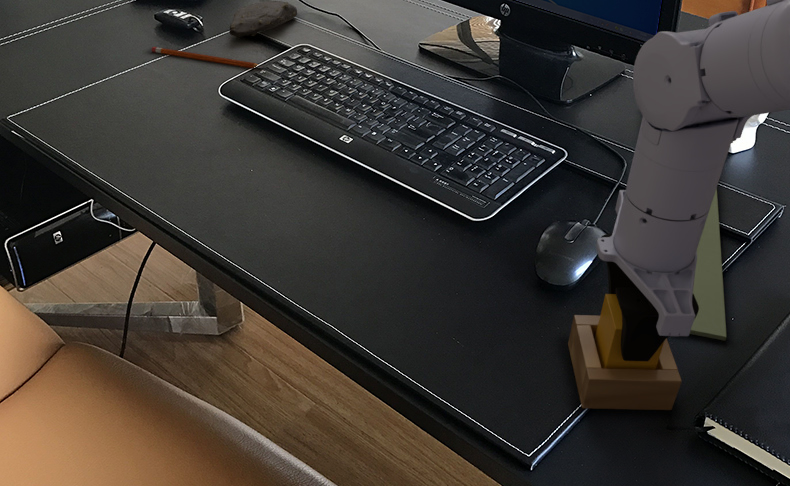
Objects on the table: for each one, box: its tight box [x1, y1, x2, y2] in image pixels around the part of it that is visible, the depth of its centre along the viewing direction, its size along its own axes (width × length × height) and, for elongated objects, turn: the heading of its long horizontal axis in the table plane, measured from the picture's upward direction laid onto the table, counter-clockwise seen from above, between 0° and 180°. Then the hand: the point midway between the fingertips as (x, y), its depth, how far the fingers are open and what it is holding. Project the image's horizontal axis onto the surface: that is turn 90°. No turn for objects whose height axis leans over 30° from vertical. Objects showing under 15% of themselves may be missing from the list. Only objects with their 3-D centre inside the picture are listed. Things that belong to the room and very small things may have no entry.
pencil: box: [151, 46, 259, 69], centre depth 111 cm, size 1×18×1 cm, turn 72°
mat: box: [689, 187, 727, 342], centre depth 85 cm, size 40×8×1 cm, turn 164°
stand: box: [567, 314, 683, 411], centre depth 65 cm, size 7×7×4 cm
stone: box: [228, 0, 298, 38], centre depth 119 cm, size 13×6×5 cm
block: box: [594, 293, 664, 370], centre depth 63 cm, size 4×4×7 cm
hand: (628, 336), depth 63 cm, fingers closed on block, 4 cm apart
